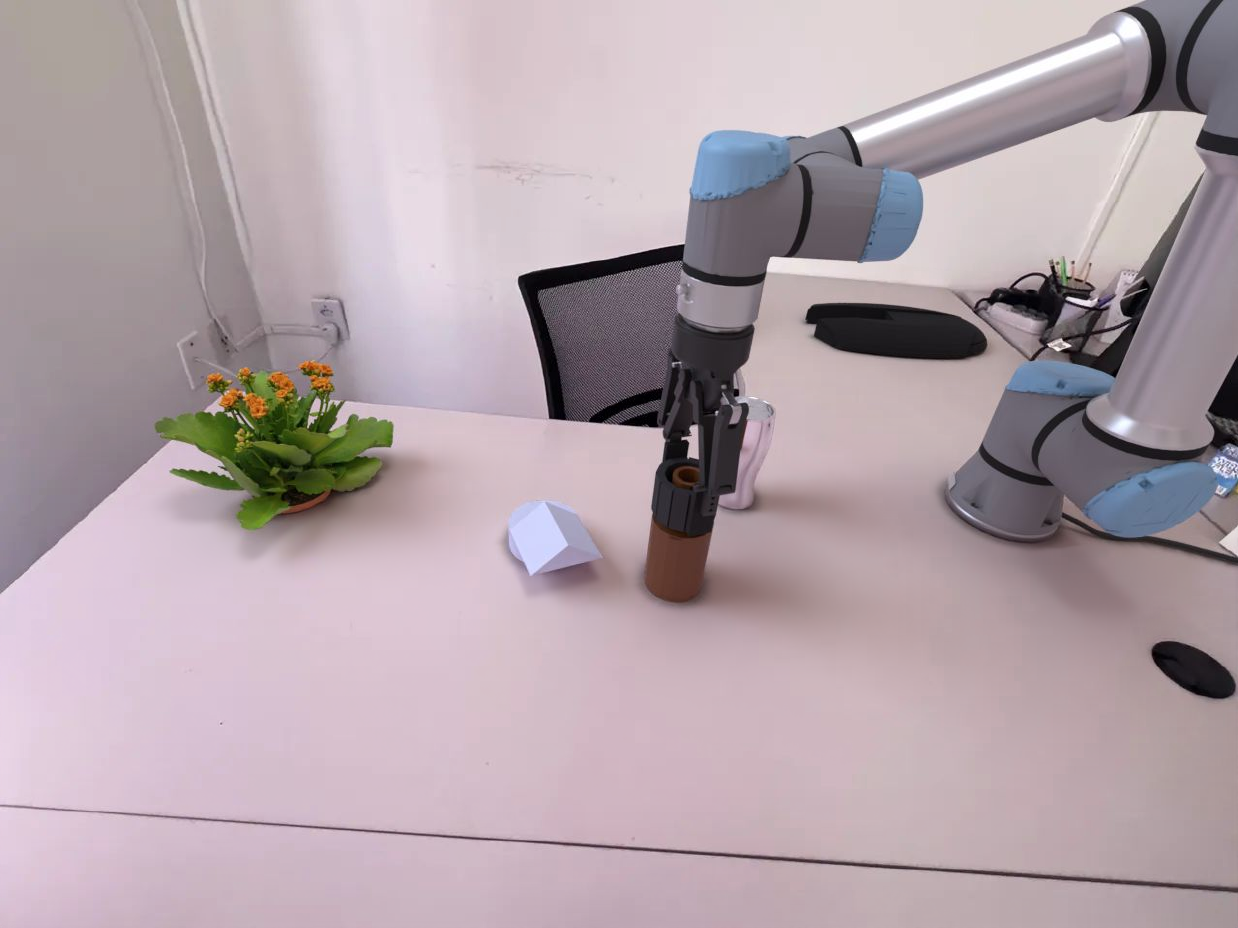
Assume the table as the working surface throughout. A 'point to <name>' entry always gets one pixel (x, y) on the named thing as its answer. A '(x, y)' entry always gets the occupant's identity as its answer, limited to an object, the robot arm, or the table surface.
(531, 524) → the wedge on round base
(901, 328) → the black flat oval pad
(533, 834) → the table surface
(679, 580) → the brown bottle
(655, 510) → the rubber collar
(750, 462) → the beer glass
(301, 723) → the table surface
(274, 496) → the potted flower
